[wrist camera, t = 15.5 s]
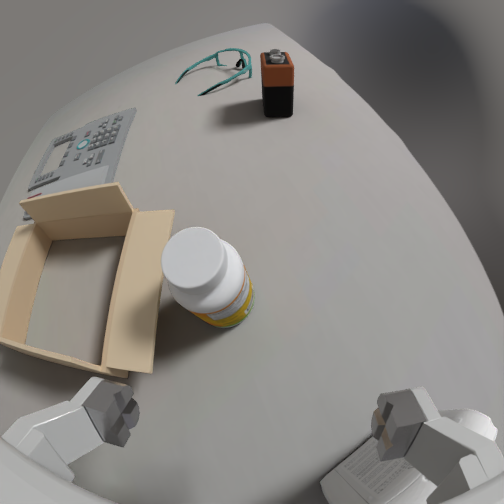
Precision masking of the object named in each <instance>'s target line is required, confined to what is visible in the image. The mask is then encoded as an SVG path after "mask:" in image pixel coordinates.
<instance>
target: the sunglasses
mask: <svg viewBox="0 0 504 504" xmlns="http://www.w3.org/2000/svg"><path fill="white" fill-rule="evenodd" d="M224 51H239V52H240V56H241V59H240V60H239V61H238V62H237V63H236V66H237V67H240V65H241V63H242V68H243V69H242V70H241V71H240V72H238V73H237V74H235V75H234V76H232V77H230V78H229V79H227V80H224V81H222V82H220V83H218V84H216V85H214V86H212V87H211V88H209V89H207V90H206V91H204V92H202V93H201V94H199V95H198V96H201V95H205V94H206V93H208V92H210V91H212V90H213V89H215V88H217V87H219V86H221V85H223V84H226V83H228V82H230V81H231V80H232V79H234V78H236V77H237V76H239V75H241V74H244V73H246V72H247V71H248V70H249V78H251V76H252V66H251V57H250V55H249V54H248V53H247V52H246V51H244V50H242V49H236V48H230V49H225V50H222V51H218V52H216V53H215V54H213V55H211V56H209V57H206V58H204V59H203V60H201V61H199V62H197V63H195V64H194V65H192V66H191V67H189V68H187V69H186V70H185V71H184V72H183V73H182V74H181V76H180V77H179V78H178V80H177V82H176V83H175V84H177V83H178V82H179V81H180V80H181V78H182V77H183V76H184V75H185V74H186V73H187V72H188V71H189V70H191V69H193V68H194V67H196V66H197V65H198V64H200V63H202V62H205V61H209V60H211V59H213V58H216V62H217V65H218V66H227V65H221V64H219V59H218V53H220V52H224ZM243 53H245V54H246V55H247V56H248V58H249V62H248V65H247V63H246V60H245V59H244V57H243Z"/></svg>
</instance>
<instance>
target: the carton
mask: <svg viewBox="0 0 504 504" xmlns="http://www.w3.org/2000/svg"><path fill="white" fill-rule="evenodd" d="M19 204H20V205H21V206H22V208H23V209H24V210H25V211H26V212H27V213H28V214H29V215H30V216H31V218H32V219H33V220H34V221H35V222H34V224H29V225H23V226H17V228H16V230H15V232H14V235H13V237H12V240H11V242H10V245H9V247H8V250H7V253H6V255H5V258H4V261H3V264H2V267H1V270H0V344H2V345H4V346H6V347H9V348H11V349H14V350H16V351H18V352H21V353H24V354H27V355H30V356H33V357H36V358H40V359H43V360H46V361H50V362H54V363H57V364H61V365H65V366H69V367H73V368H77V369H81V370H86V371H90V372H95V373H100V374H105V375H110V376H116V377H121V378H128V371H135V372H142V373H150V374H152V371H153V359H154V348H155V338H156V328H157V320H158V312H159V304H160V296H161V289H162V282H163V276H164V274H163V272H162V268H161V256H162V252H163V249H164V247H165V245H166V244H167V242H168V241H169V240H170V235H171V230H172V225H173V219H174V215H175V211H174V209H172V210H158V211H146V212H140V211H139V209H138V208H136V209H134V208H133V206H132V205H131V203H130V201H129V200H128V198H127V196H126V194H125V193H124V191H123V189H122V187H121V186H120V184H119V182H114V183H108V184H101V185H95V186H89V187H84V188H78V189H73V190H67V191H62V192H57V193H53V194H48V195H43V196H39V197H34V198H30V199H26V200H22V201H20V203H19ZM113 236H126V237H125V241H124V245H123V249H122V253H121V257H120V261H119V265H118V269H117V274H116V278H115V283H114V288H113V293H112V298H111V303H110V308H109V314H108V320H107V326H106V332H105V339H104V346H103V354H102V363H101V366H100V365H95V364H91V363H88V362H85V361H82V360H79V359H77V358H74V357H71V356H66V355H62V354H58V353H54V352H50V351H46V350H42V349H38V348H35V347H31V346H28V345H25V341H26V335H27V330H28V325H29V320H30V315H31V311H32V307H33V302H34V298H35V295H36V291H37V287H38V283H39V280H40V277H41V273H42V270H43V267H44V264H45V261H46V257H47V255H48V252H49V249H50V246H51V243H52V241H53V240H67V239H81V238H97V237H113Z"/></svg>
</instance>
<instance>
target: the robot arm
mask: <svg viewBox="0 0 504 504" xmlns="http://www.w3.org/2000/svg"><path fill="white" fill-rule="evenodd" d="M133 394H134V393H133V390H132V388H131V386H129V385H126V384H122V383H118V382H114V381H110V380H106V379H102V378H98V377H91V378H90V379H89V380H88V381H87V383H86V384H85V385H84V386H83V387H82V388H81V389H80V390H79V392H78V393H77V394H76V395H75V396H74V397H73V398H72V400H71V401H70V402H69V401H64V402H62V403H59V404H56V405H54V406H51V407H48V408H46V409H43V410H40V411H37V412H34V413H31V414H29V415H26V416H23V417H20V418H18V419H17V420H16V421H15V423H14V424H13V425H12V426H11V427H10V428H9V429H8V430H7V431H6V432H5V433H4V434H3V436H2V437H0V504H119V503H116V502H114V501H111V500H109V499H106V498H104V497H101V496H99V495H97V494H95V493H92V492H90V491H88V490H86V489H84V488H82V487H80V486H77V485H75V484H74V483H72V480H73V479H74V477H75V475H74V473H73V471H72V470H71V469H70V468H69V467H68V465H67V464H69V463H71V462H73V461H74V460H76V459H78V458H79V457H81V456H83V455H84V454H86V453H88V452H89V451H91V450H93V449H94V448H96V447H97V446H99V445H101V444H102V443H103V442H106V443H110V444H113V445H116V446H120V447H124V446H125V444H126V442H127V440H128V439H129V437H130V431H129V429H131V428H133V427H135V426H136V424H137V422H138V420H139V414H140V412H139V406H138V403H137V402H136V401H135V400H134V399H133V398H132V396H133ZM377 404H378V408H377V409H376V410H375V411H374V412H373V416H372V421H371V428H372V434H373V437H374V438H375V439H377V440H378V441H379V442H378V444H377V446H376V448H377V452H378V455H379V459H380V462H382V461H387V460H393V459H398V458H403V457H404V459H405V460H406V461H407V462H409V463H410V464H411V465H412V466H413V467H414V468H416V469H417V470H418V471H419V472H420V473H422V474H423V475H424V476H425V477H426V478H427V479H429V480H430V481H431V482H432V483H434V484H435V485H436V486H437V488H436V489H435V490H434V491H433V492H432V493H431V494H430V495H429V496H428V498H427V499H426V501H427V504H504V456H503V455H502V453H501V451H500V449H499V448H498V446H497V444H496V443H495V442H494V441H492V440H490V439H488V438H486V437H484V436H482V435H480V434H478V433H476V432H474V431H472V430H470V429H468V428H466V427H464V426H462V425H460V424H458V423H457V422H455V421H453V420H451V419H449V418H447V417H441V416H440V414H439V412H438V410H437V408H436V407H435V405H434V403H433V402H432V400H431V398H430V396H429V395H428V393H427V391H426V390H425V388H424V387H422V386H420V387H415V388H410V389H405V390H400V391H394V392H388V393H382V394H380V396H379V397H378V400H377Z"/></svg>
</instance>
